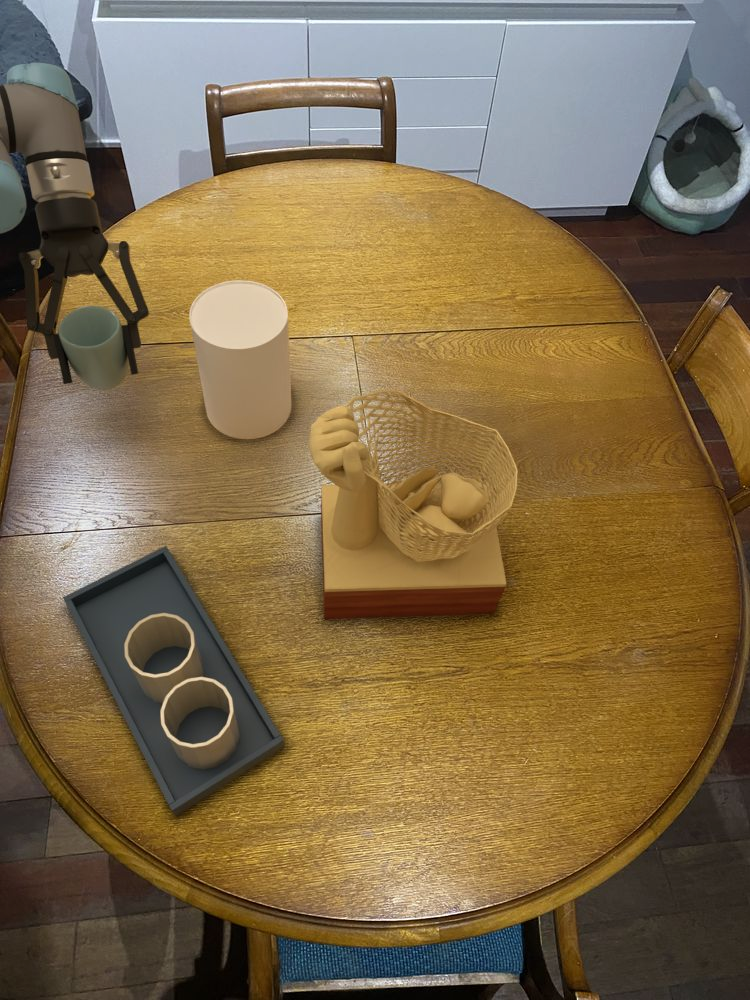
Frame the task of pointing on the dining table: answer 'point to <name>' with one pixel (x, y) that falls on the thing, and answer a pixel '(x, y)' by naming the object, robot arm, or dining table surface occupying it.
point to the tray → (105, 627)
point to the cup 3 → (186, 701)
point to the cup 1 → (95, 347)
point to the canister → (243, 357)
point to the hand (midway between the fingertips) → (101, 378)
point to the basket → (409, 515)
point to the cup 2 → (155, 637)
